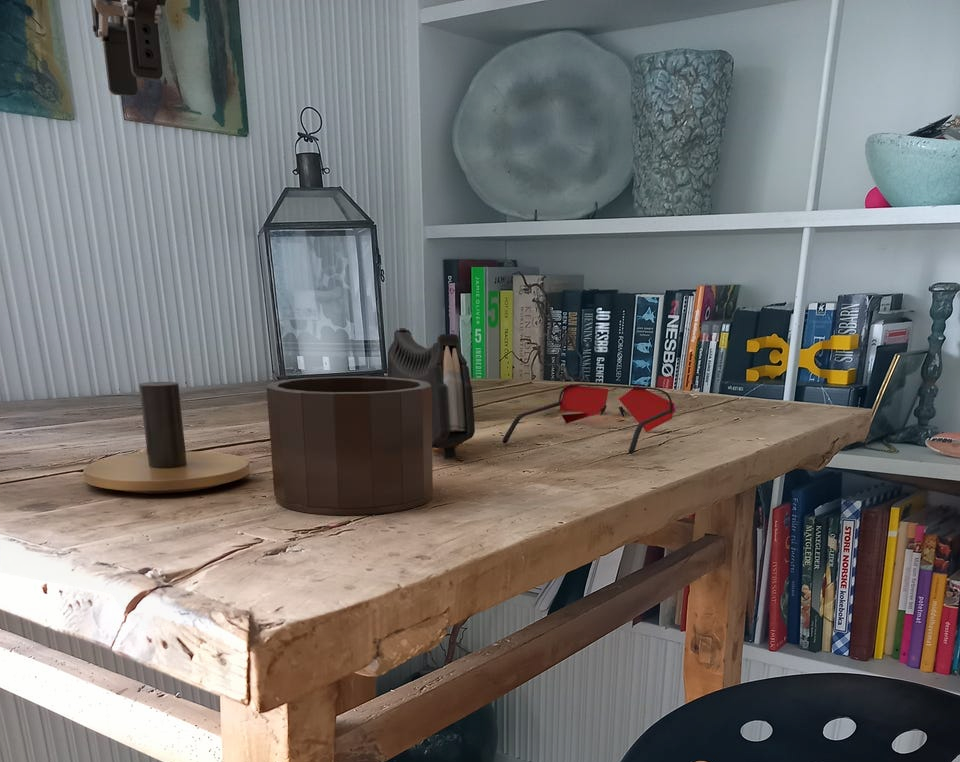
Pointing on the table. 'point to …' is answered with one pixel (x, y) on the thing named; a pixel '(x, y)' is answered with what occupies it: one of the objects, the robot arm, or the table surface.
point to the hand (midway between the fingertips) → (135, 87)
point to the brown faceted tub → (351, 444)
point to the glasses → (593, 401)
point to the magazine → (438, 385)
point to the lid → (165, 453)
